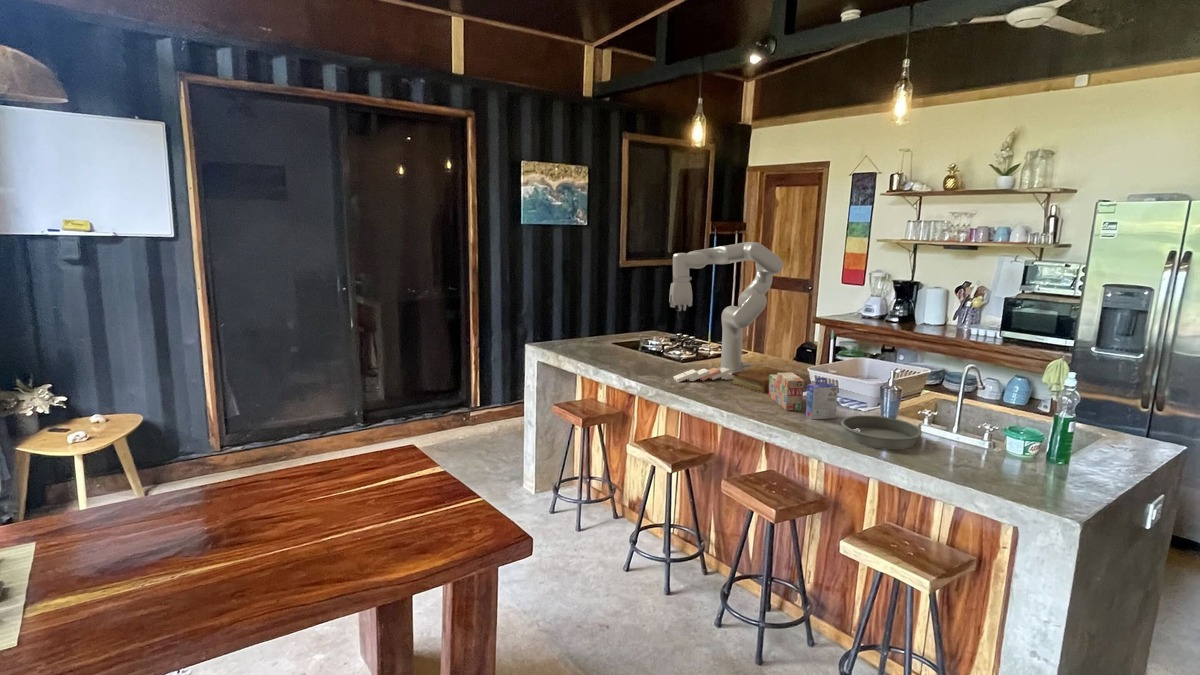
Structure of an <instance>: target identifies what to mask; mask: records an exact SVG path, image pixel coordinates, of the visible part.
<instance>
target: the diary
mask: <svg viewBox="0 0 1200 675" xmlns="http://www.w3.org/2000/svg"><path fill="white" fill-rule="evenodd" d="M777 373H791V372H789V371H786V370H781V369H778V368H773V367H769V366H763V367H757V368H752V369H746V370H745V369H744V371H740V372H734V373H732V374H731V375H734V376H733V379H732V382H730V385H732V384H733V385H732V386H736V385H737V387H739V386H741V387H740V388H743V387H744V389H746V388H748V389H747V390H750V389H751V390H750V391H753V390H755V391H754V392H757V391H759V392H758V393H760V392H762V393H761V394H766V392H767V393H769V375H777ZM792 373H793V372H792ZM793 374H795V375H797V376H799V377H800V375H799V374H798V373H793Z"/></svg>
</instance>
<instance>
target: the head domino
mask: <svg viewBox="0 0 1200 675" xmlns="http://www.w3.org/2000/svg"><path fill="white" fill-rule="evenodd" d="M697 371H698V370H695V369H690V370H687V371H684V372H682V373H679V374H677V375H673V376H672V377H673V380H674V381H675V380H676V382H677V383H681V382H682V381H687V380H686V379H688V378H691V377H694V376H696V375H698V373H697Z"/></svg>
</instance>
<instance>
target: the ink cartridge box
mask: <svg viewBox="0 0 1200 675" xmlns="http://www.w3.org/2000/svg"><path fill="white" fill-rule="evenodd" d="M806 386H807V387H806V407H805V408H806V409H805V416H806V417H807V418H809V419H810V420H820V419H821V420H822V419H823V420H824V419H836V417H837V402H838V390H839V389H838V388H839V387H838V385H835V384H833V383H831V382H828V383H827V379H826V377H817V378H816V383H813V384H811V383H810V384H809V383H808V384H807V385H806Z"/></svg>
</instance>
